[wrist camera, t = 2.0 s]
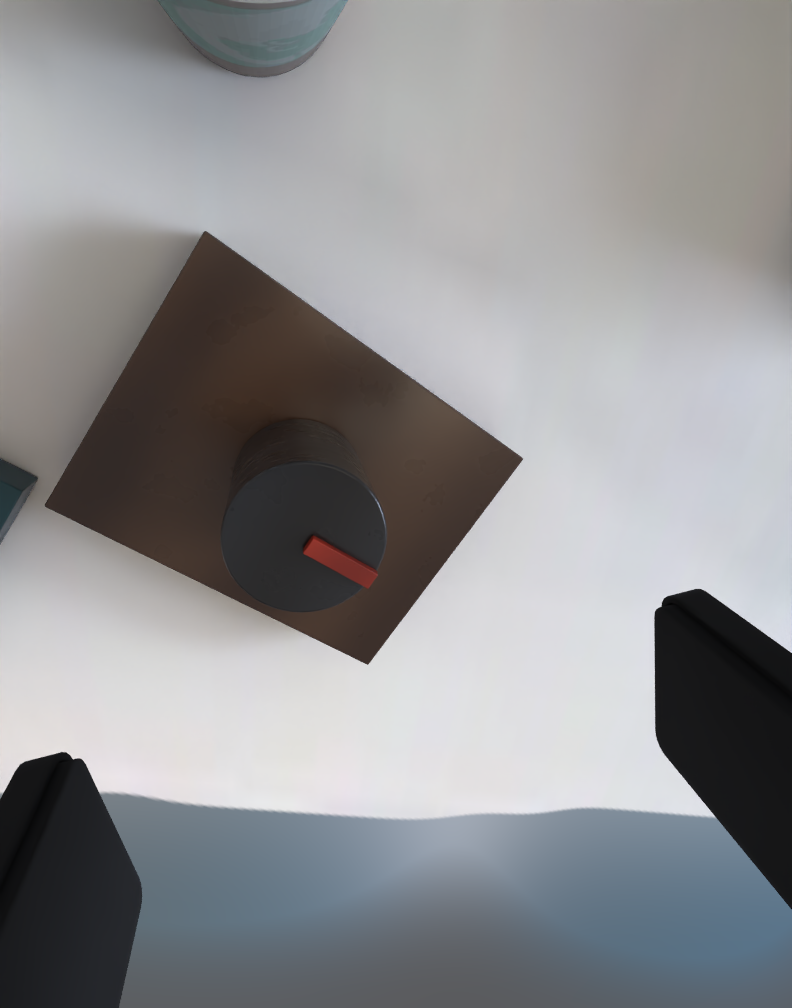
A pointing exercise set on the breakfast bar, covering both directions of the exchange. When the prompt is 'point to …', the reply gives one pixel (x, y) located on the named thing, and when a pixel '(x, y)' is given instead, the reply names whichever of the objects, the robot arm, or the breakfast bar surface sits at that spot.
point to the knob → (301, 519)
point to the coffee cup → (255, 31)
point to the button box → (12, 493)
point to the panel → (255, 405)
